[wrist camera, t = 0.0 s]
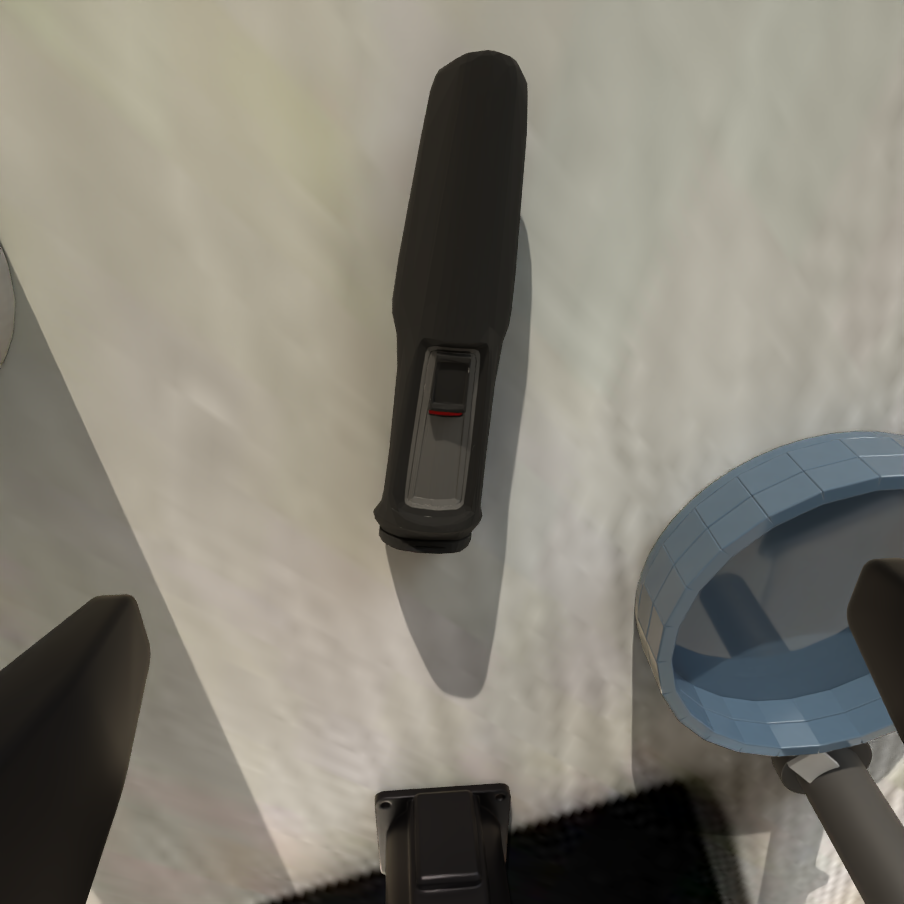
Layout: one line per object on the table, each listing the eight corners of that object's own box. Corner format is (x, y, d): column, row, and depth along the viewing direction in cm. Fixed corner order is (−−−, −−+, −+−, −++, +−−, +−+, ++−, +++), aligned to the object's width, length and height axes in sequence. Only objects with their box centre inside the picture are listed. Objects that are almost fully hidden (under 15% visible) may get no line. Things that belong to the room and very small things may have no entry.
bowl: (911, 690, 33) (955, 745, 31) (614, 708, 32) (634, 766, 30) (1041, 423, 26) (1113, 466, 23) (663, 437, 25) (694, 483, 22)
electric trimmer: (552, 60, 19) (579, 62, 16) (472, 530, 26) (482, 586, 24) (411, 40, 18) (414, 39, 16) (371, 524, 26) (369, 580, 23)
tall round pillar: (885, 753, 36) (1098, 1063, 25) (809, 795, 37) (981, 1106, 26) (823, 696, 33) (1031, 1016, 22) (743, 744, 34) (904, 1067, 24)
